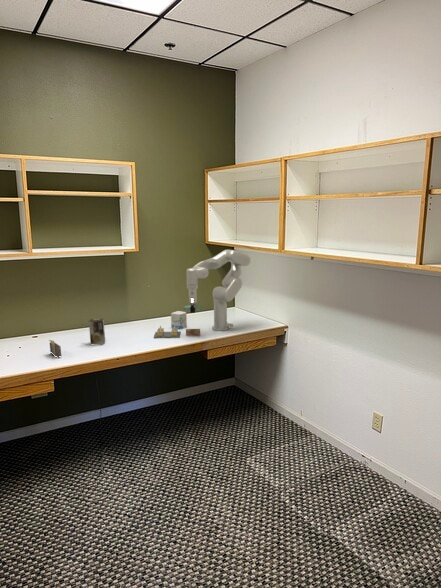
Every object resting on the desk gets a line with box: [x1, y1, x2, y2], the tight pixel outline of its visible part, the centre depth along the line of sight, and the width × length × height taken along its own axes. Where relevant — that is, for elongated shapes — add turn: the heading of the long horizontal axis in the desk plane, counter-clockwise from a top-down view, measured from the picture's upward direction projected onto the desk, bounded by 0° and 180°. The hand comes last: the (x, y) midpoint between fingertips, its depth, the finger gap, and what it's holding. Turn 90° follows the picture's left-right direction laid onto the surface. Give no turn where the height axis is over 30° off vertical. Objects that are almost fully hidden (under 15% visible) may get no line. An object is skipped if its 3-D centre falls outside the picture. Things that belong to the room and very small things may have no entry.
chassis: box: [153, 325, 182, 339], centre depth 298 cm, size 18×12×6 cm, turn 92°
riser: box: [185, 328, 201, 337], centre depth 299 cm, size 10×4×4 cm, turn 92°
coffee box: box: [88, 318, 106, 345], centre depth 281 cm, size 9×6×16 cm
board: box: [183, 304, 202, 312], centre depth 296 cm, size 12×7×2 cm, turn 92°
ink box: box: [170, 310, 188, 330], centre depth 318 cm, size 8×8×12 cm
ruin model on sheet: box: [48, 339, 62, 357], centre depth 258 cm, size 11×3×10 cm, turn 41°
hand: (192, 311), depth 296 cm, fingers closed on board, 7 cm apart
